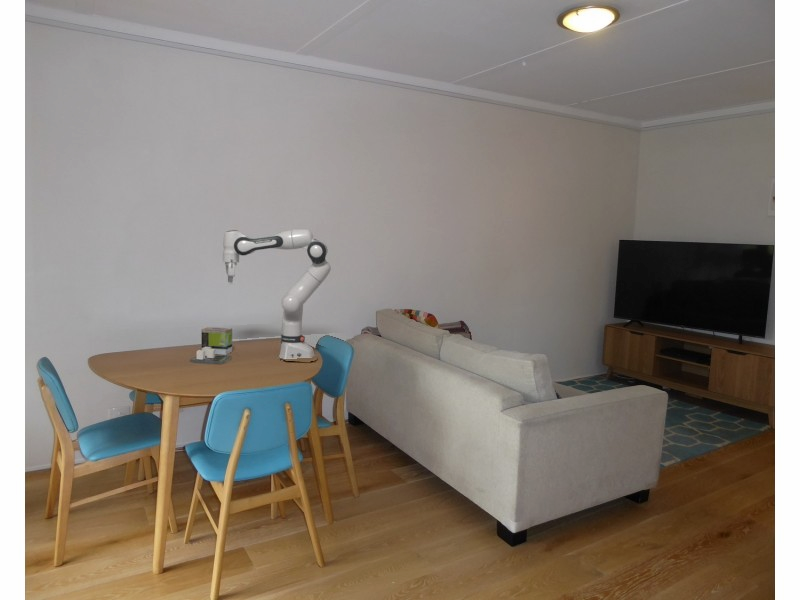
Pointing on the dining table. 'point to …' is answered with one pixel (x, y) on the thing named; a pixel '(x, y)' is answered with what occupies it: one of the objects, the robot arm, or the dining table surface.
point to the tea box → (217, 339)
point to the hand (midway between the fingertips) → (230, 283)
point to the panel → (212, 360)
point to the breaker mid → (210, 353)
